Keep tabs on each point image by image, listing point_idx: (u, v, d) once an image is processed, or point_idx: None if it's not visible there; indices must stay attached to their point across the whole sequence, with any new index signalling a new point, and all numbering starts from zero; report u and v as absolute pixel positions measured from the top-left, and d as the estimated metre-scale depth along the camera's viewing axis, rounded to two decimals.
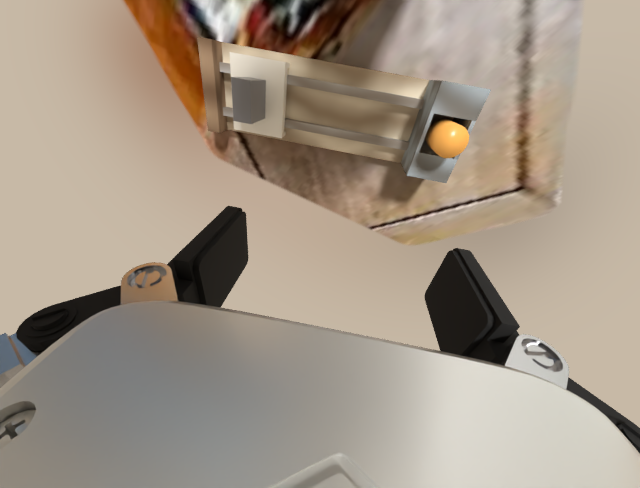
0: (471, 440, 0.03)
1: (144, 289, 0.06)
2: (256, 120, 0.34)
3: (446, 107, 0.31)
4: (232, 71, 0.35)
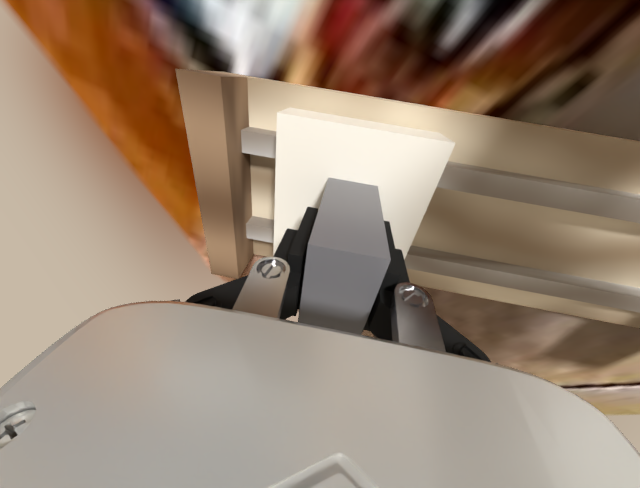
0: (471, 440, 0.03)
1: (264, 278, 0.07)
2: None
3: None
4: (281, 162, 0.12)
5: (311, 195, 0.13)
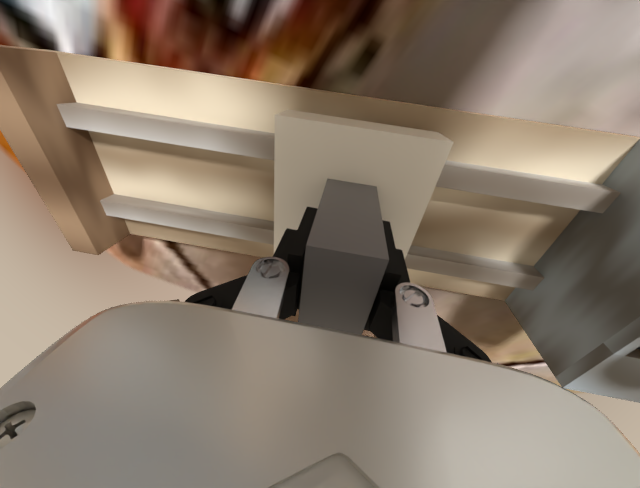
0: (471, 440, 0.03)
1: (263, 278, 0.07)
2: None
3: None
4: (280, 164, 0.12)
5: (310, 196, 0.13)
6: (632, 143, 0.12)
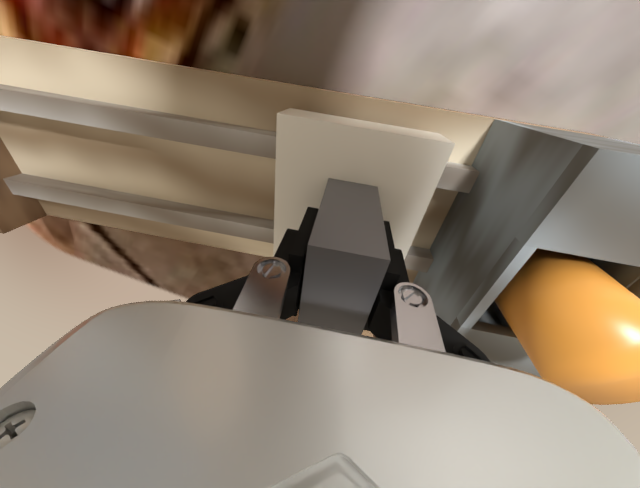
0: (471, 440, 0.03)
1: (264, 279, 0.07)
2: None
3: (589, 234, 0.08)
4: (281, 163, 0.12)
5: (311, 195, 0.13)
6: (488, 124, 0.12)
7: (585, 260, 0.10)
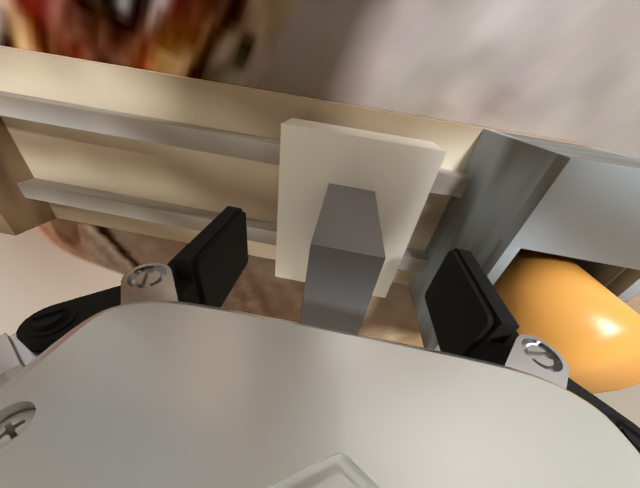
0: (471, 440, 0.03)
1: (144, 289, 0.06)
2: None
3: (567, 235, 0.09)
4: (284, 169, 0.13)
5: (312, 200, 0.13)
6: (478, 133, 0.13)
7: (566, 260, 0.10)
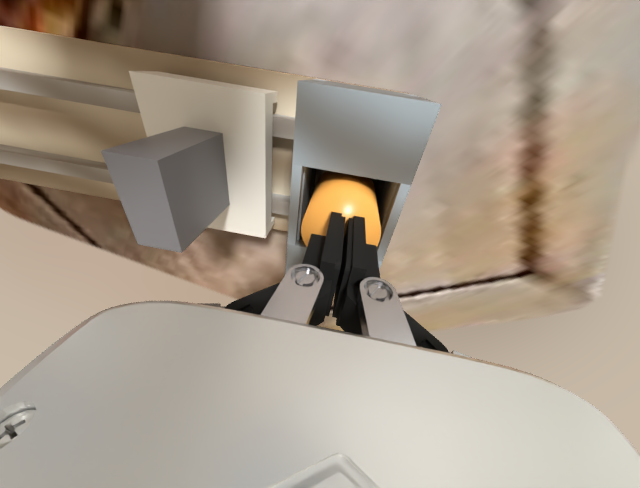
0: (471, 440, 0.03)
1: (296, 286, 0.07)
2: (201, 229, 0.15)
3: (328, 152, 0.11)
4: (145, 114, 0.15)
5: None
6: None
7: None
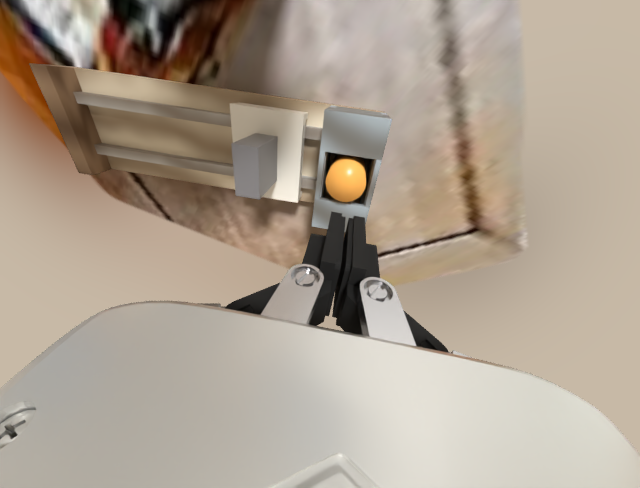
0: (471, 440, 0.03)
1: (297, 285, 0.07)
2: (266, 190, 0.26)
3: (339, 143, 0.22)
4: (234, 126, 0.26)
5: None
6: (330, 107, 0.27)
7: None
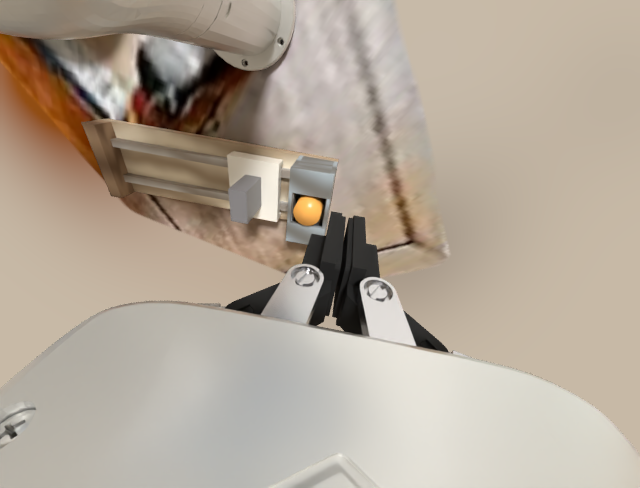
0: (471, 440, 0.03)
1: (297, 286, 0.07)
2: (252, 216, 0.36)
3: (301, 188, 0.33)
4: (229, 169, 0.37)
5: None
6: (298, 156, 0.37)
7: None
